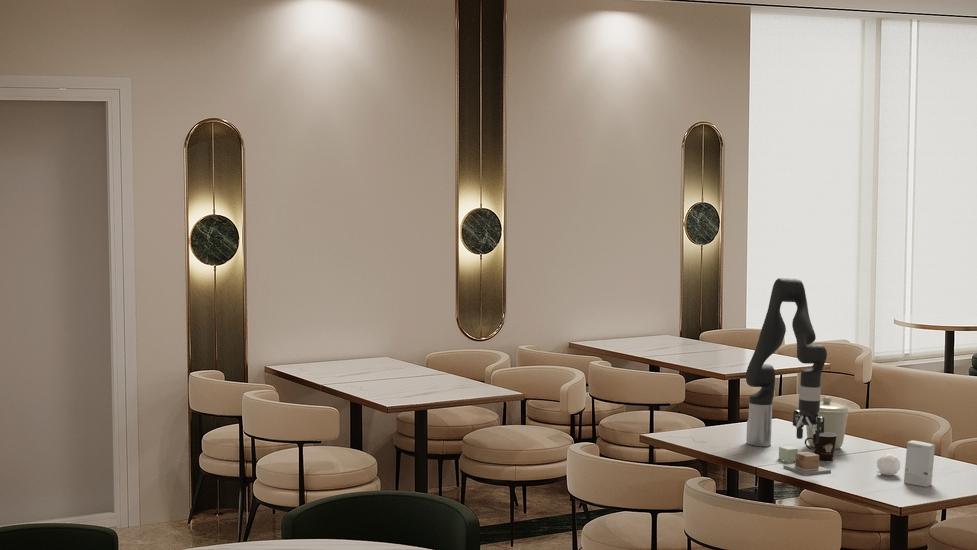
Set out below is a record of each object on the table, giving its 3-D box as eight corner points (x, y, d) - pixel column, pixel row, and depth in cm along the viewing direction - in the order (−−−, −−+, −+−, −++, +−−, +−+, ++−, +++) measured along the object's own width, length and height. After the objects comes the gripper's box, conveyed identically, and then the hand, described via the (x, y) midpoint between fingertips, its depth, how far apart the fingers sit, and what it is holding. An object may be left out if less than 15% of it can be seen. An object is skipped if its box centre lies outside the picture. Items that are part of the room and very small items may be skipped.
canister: (857, 450, 410) (860, 399, 409) (821, 453, 404) (824, 401, 402) (827, 441, 427) (829, 391, 426) (792, 443, 420) (794, 393, 419)
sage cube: (778, 459, 393) (779, 446, 392) (788, 458, 395) (789, 445, 394) (787, 462, 388) (787, 449, 388) (797, 461, 390) (798, 448, 390)
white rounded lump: (878, 468, 367) (864, 464, 379) (896, 481, 367) (881, 477, 379) (890, 450, 368) (876, 447, 379) (908, 464, 368) (893, 460, 380)
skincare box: (903, 483, 360) (905, 442, 359) (909, 480, 365) (910, 439, 364) (928, 487, 355) (930, 445, 354) (933, 484, 359) (935, 443, 358)
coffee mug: (835, 458, 396) (836, 433, 395) (835, 463, 388) (836, 437, 387) (804, 455, 400) (805, 430, 399) (803, 460, 392) (804, 434, 391)
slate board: (783, 467, 379) (783, 464, 379) (808, 465, 384) (808, 462, 384) (805, 475, 368) (805, 472, 368) (830, 472, 373) (830, 469, 373)
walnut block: (794, 466, 378) (795, 452, 377) (807, 464, 380) (808, 451, 380) (805, 469, 372) (806, 456, 372) (818, 468, 374) (819, 455, 374)
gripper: (831, 401, 369) (828, 444, 371) (804, 393, 382) (802, 436, 384) (815, 402, 366) (812, 446, 368) (788, 395, 379) (786, 437, 381)
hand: (807, 441), depth 376 cm, fingers open, 8 cm apart
